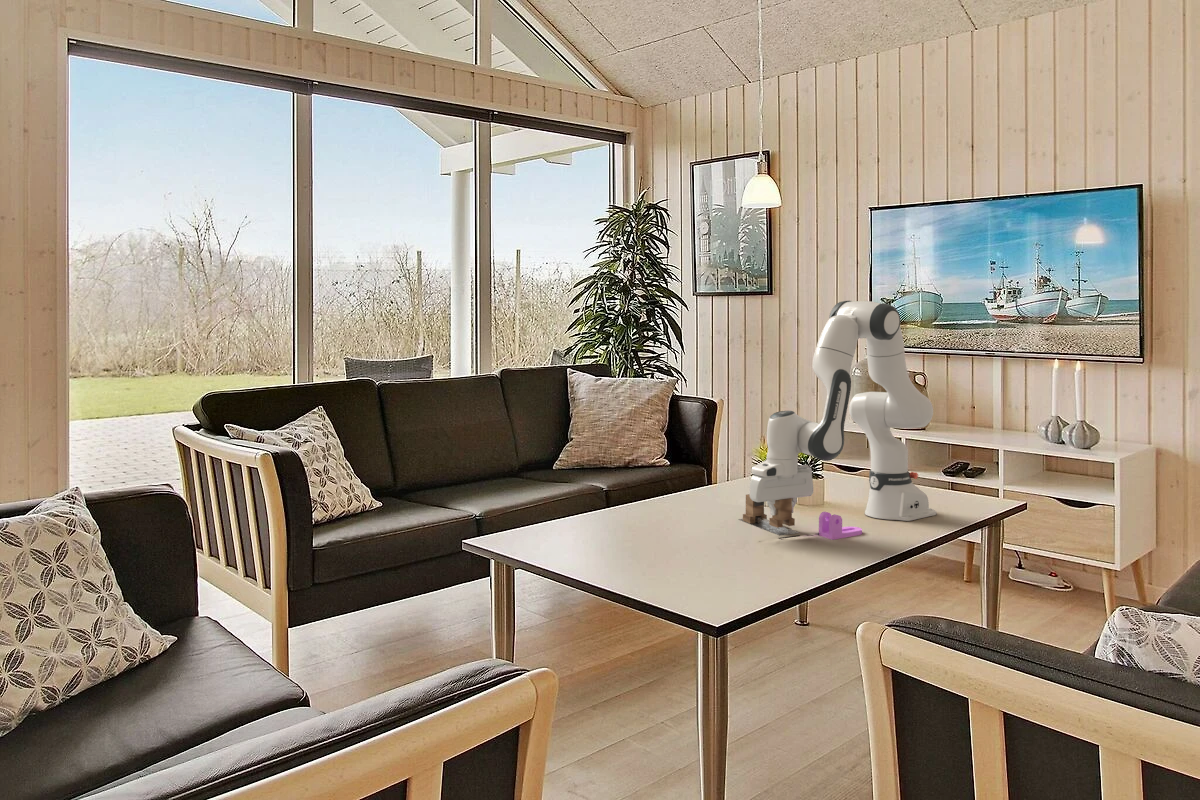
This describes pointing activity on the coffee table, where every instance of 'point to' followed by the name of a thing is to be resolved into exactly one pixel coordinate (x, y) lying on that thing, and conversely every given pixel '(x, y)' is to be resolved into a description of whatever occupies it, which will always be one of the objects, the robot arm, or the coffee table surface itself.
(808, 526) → the coffee table surface
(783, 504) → the loose finger
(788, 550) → the coffee table surface
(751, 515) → the fixed finger
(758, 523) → the rail
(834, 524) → the bracket
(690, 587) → the coffee table surface
